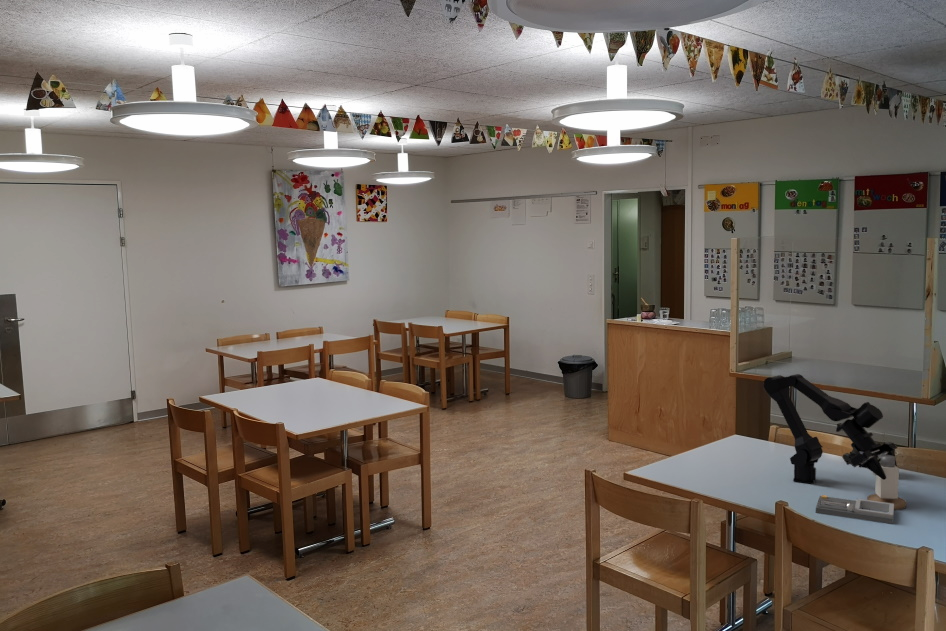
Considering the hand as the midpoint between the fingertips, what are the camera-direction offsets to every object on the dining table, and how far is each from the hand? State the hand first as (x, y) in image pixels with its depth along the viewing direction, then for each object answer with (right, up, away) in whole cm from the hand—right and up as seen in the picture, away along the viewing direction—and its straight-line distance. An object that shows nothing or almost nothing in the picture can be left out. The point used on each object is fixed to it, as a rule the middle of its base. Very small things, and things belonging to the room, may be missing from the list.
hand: (891, 476), depth 238 cm
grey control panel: (-14, -10, -4) cm, 18 cm away
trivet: (0, -9, +2) cm, 9 cm away
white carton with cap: (-1, -6, +2) cm, 7 cm away
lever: (-20, -10, -5) cm, 24 cm away
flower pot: (+14, -6, +30) cm, 33 cm away
